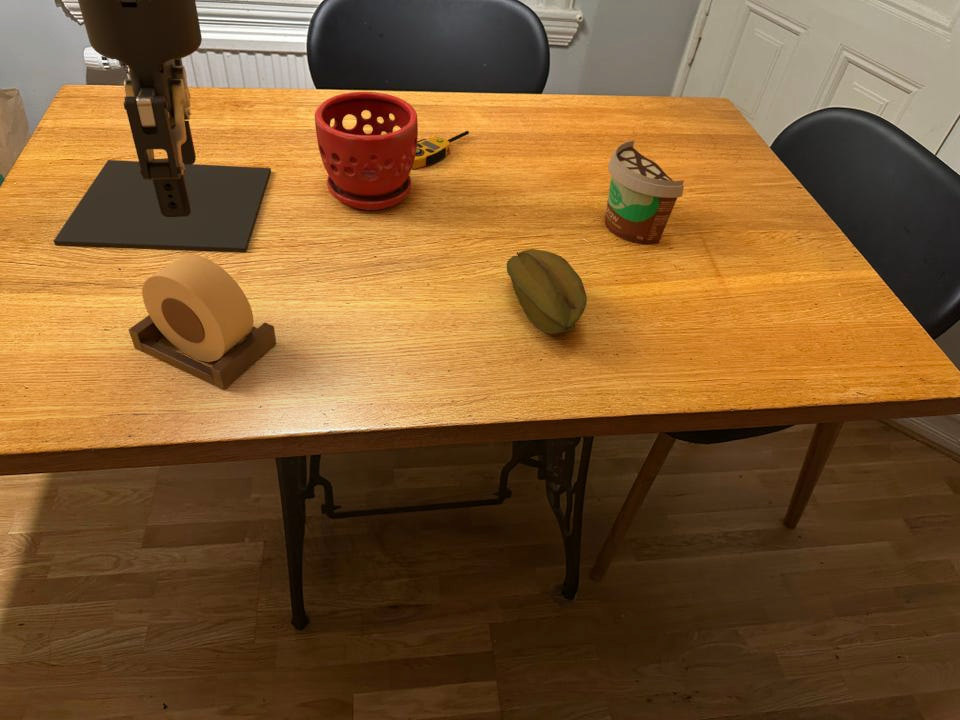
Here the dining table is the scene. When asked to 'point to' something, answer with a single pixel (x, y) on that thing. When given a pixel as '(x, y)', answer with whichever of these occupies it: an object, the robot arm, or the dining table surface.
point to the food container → (639, 196)
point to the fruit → (547, 290)
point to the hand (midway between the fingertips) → (180, 187)
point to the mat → (139, 223)
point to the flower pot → (367, 149)
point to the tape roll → (198, 307)
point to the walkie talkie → (433, 150)
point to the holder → (217, 375)
